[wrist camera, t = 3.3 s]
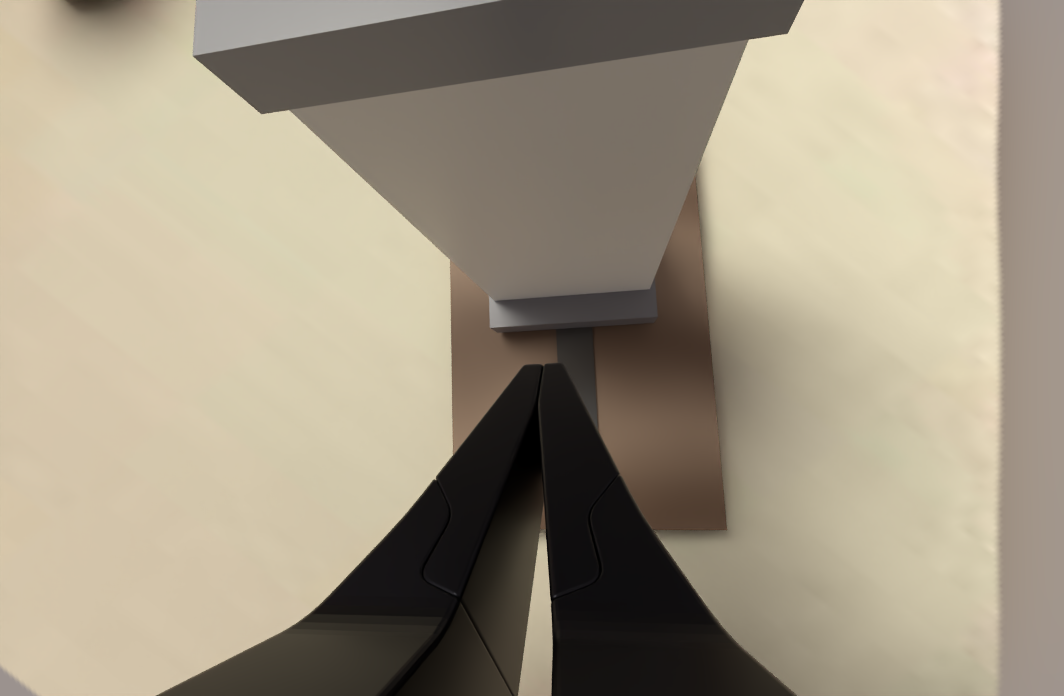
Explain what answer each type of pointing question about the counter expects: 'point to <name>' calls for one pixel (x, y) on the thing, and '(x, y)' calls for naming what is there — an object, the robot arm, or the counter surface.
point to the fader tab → (508, 126)
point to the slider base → (619, 383)
